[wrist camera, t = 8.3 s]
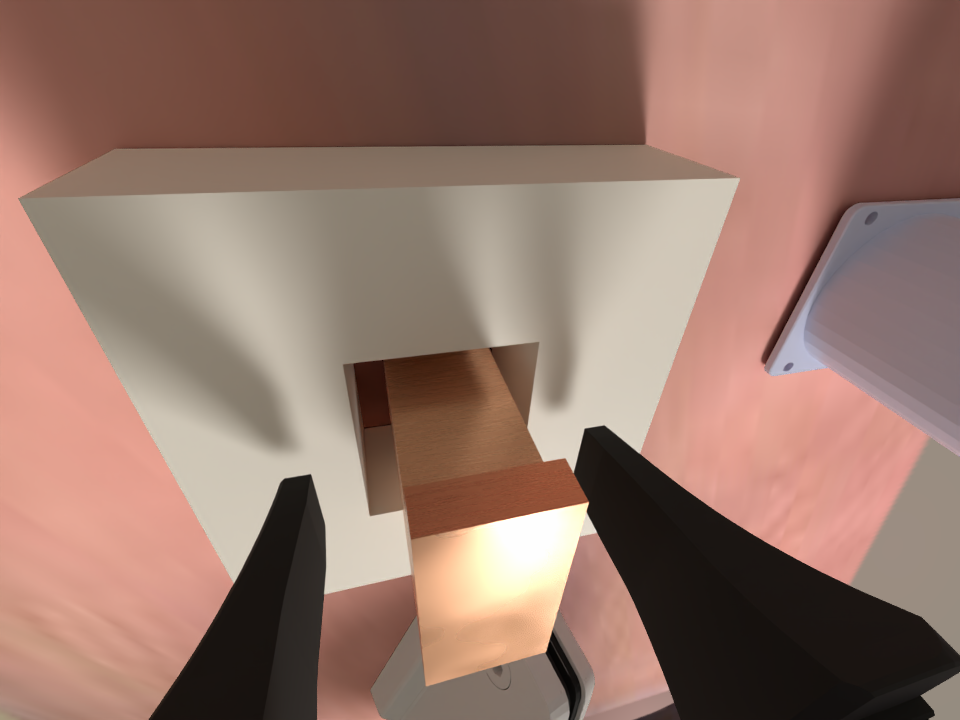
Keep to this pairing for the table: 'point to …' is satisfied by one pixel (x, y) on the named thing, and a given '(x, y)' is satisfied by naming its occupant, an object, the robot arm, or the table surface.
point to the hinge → (489, 685)
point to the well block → (374, 305)
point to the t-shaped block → (478, 514)
